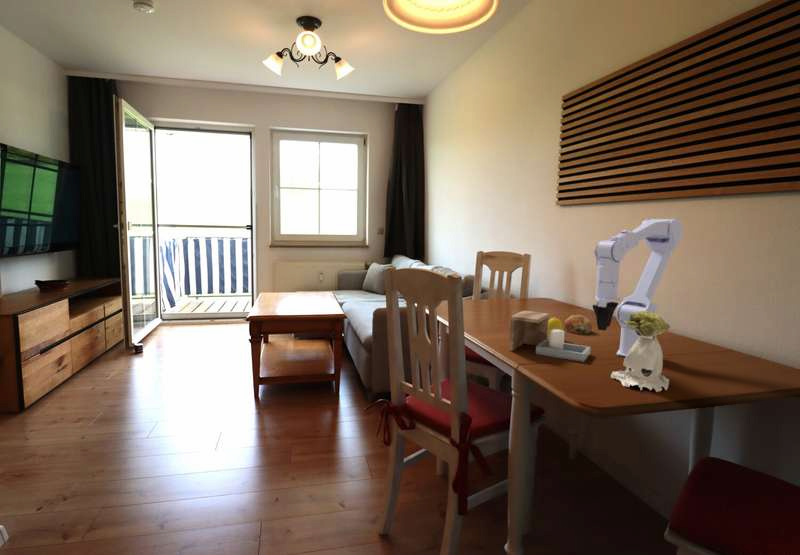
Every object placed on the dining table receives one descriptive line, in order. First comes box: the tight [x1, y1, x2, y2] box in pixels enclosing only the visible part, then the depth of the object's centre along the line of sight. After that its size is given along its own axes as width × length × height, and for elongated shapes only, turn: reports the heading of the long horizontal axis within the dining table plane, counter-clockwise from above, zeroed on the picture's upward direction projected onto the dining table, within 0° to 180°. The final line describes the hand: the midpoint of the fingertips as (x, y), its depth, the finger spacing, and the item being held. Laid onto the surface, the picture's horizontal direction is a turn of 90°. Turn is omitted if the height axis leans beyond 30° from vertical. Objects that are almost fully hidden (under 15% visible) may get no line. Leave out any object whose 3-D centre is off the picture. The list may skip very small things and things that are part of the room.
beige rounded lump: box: [548, 329, 566, 350], centre depth 139 cm, size 4×4×6 cm
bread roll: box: [563, 314, 593, 335], centre depth 171 cm, size 10×10×8 cm
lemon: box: [548, 316, 564, 336], centre depth 157 cm, size 6×6×8 cm
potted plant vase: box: [610, 311, 671, 393], centre depth 113 cm, size 12×13×18 cm
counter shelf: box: [509, 310, 550, 352], centre depth 144 cm, size 8×12×11 cm
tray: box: [535, 339, 591, 363], centre depth 138 cm, size 14×10×2 cm
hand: (603, 327), depth 132 cm, fingers open, 6 cm apart
